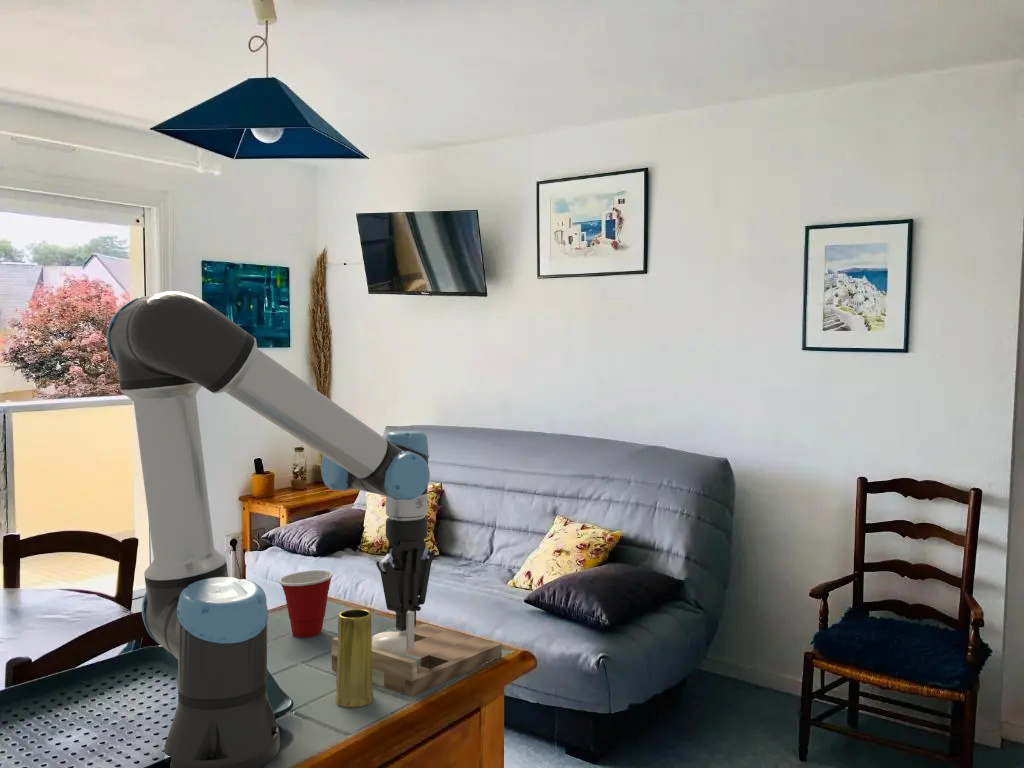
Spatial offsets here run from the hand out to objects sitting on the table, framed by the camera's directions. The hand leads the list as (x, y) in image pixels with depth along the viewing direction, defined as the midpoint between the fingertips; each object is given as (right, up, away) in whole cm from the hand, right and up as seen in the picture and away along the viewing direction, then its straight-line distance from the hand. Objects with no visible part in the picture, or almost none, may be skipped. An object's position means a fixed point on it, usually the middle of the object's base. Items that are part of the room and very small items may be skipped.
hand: (405, 646), depth 147 cm
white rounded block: (-3, -1, -3) cm, 4 cm away
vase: (-6, -4, -15) cm, 17 cm away
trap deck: (+2, -4, +3) cm, 5 cm away
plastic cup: (-23, -4, +19) cm, 30 cm away
